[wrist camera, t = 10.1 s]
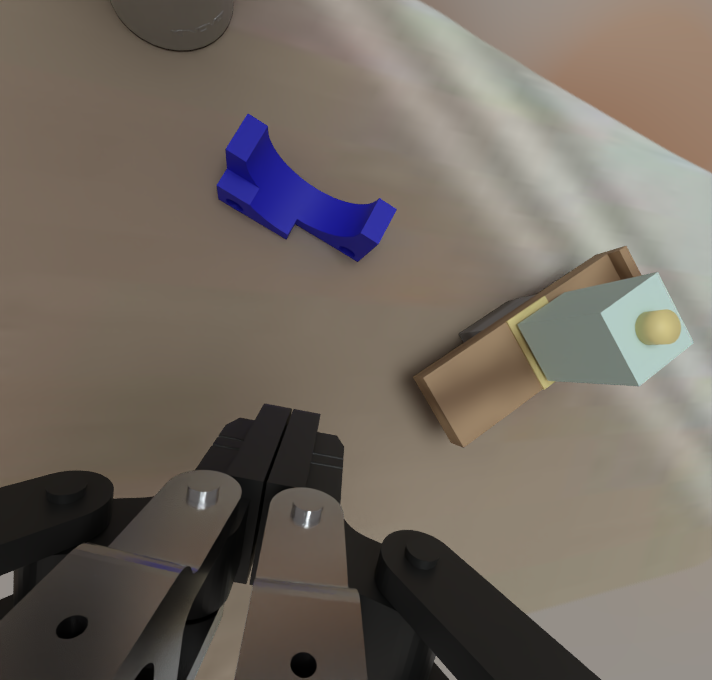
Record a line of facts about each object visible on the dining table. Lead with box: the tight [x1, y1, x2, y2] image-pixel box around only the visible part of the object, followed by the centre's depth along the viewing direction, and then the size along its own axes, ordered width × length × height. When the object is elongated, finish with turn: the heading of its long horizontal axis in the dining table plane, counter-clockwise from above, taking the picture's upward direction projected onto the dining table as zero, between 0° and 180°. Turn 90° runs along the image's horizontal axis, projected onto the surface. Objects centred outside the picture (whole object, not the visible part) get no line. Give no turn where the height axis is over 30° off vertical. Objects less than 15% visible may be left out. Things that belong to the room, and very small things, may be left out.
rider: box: [517, 272, 694, 386], centre depth 30 cm, size 5×5×9 cm
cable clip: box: [217, 114, 397, 262], centre depth 33 cm, size 12×4×6 cm, turn 62°
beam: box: [413, 246, 642, 448], centre depth 37 cm, size 6×20×7 cm, turn 121°
